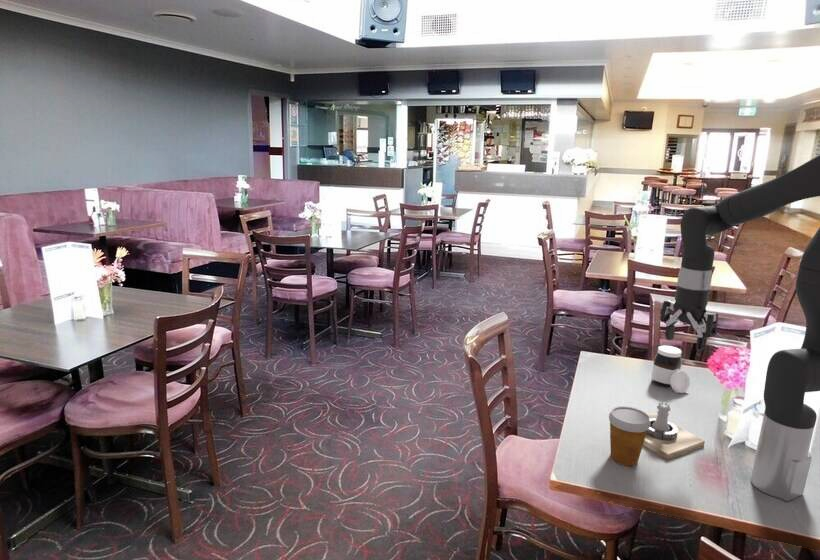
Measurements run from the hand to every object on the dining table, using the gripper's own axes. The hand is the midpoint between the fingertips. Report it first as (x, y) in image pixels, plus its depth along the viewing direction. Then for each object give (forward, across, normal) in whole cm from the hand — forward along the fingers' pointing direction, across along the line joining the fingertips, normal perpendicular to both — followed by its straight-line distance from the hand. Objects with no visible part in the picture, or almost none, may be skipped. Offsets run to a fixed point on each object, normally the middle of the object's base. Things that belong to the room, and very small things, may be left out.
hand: (684, 344), depth 141 cm
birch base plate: (+24, -2, +7) cm, 25 cm away
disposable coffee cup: (+25, -4, +24) cm, 34 cm away
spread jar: (+25, +18, -23) cm, 38 cm away
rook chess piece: (+23, -2, +7) cm, 24 cm away
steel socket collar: (+23, -2, +7) cm, 24 cm away
